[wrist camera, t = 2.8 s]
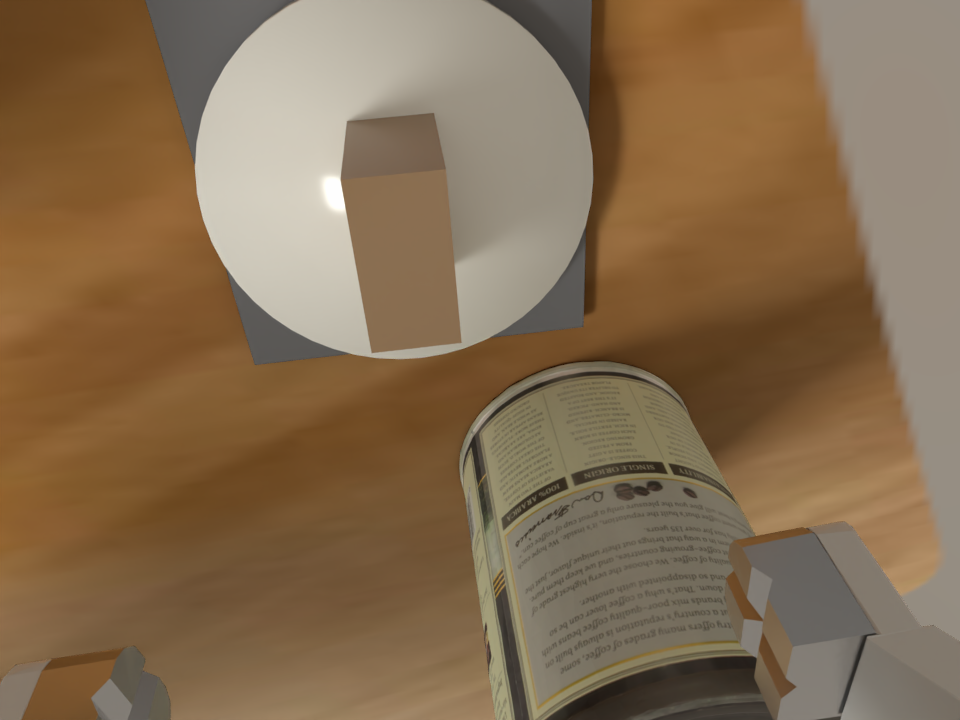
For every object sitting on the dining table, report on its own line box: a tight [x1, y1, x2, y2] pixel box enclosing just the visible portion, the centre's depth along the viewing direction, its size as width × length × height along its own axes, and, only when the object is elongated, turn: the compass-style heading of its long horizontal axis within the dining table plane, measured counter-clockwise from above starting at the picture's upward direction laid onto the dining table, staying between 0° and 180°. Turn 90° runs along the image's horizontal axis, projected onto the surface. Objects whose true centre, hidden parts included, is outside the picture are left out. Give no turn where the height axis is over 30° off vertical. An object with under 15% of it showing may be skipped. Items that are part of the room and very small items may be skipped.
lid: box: [195, 0, 593, 359], centre depth 21 cm, size 12×12×5 cm
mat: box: [145, 0, 592, 365], centre depth 23 cm, size 12×12×1 cm
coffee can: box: [459, 361, 841, 720], centre depth 26 cm, size 10×10×14 cm
